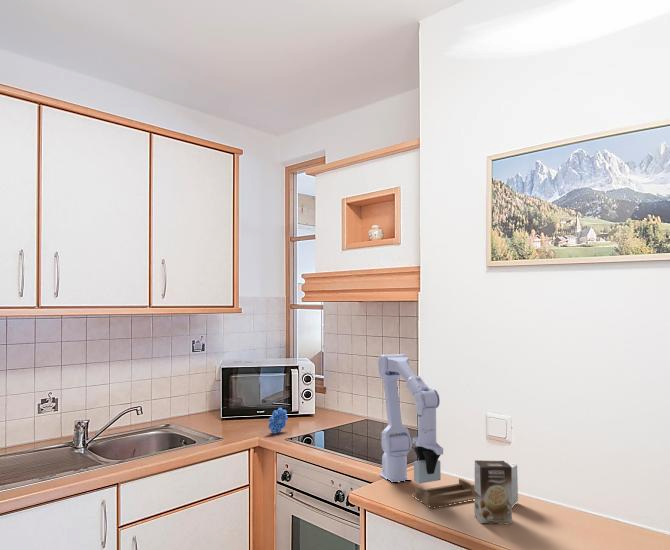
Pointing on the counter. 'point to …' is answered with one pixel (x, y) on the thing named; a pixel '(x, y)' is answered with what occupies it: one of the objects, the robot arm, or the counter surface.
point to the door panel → (425, 472)
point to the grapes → (278, 420)
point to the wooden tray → (446, 494)
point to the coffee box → (493, 492)
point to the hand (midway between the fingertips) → (427, 471)
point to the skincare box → (514, 483)
